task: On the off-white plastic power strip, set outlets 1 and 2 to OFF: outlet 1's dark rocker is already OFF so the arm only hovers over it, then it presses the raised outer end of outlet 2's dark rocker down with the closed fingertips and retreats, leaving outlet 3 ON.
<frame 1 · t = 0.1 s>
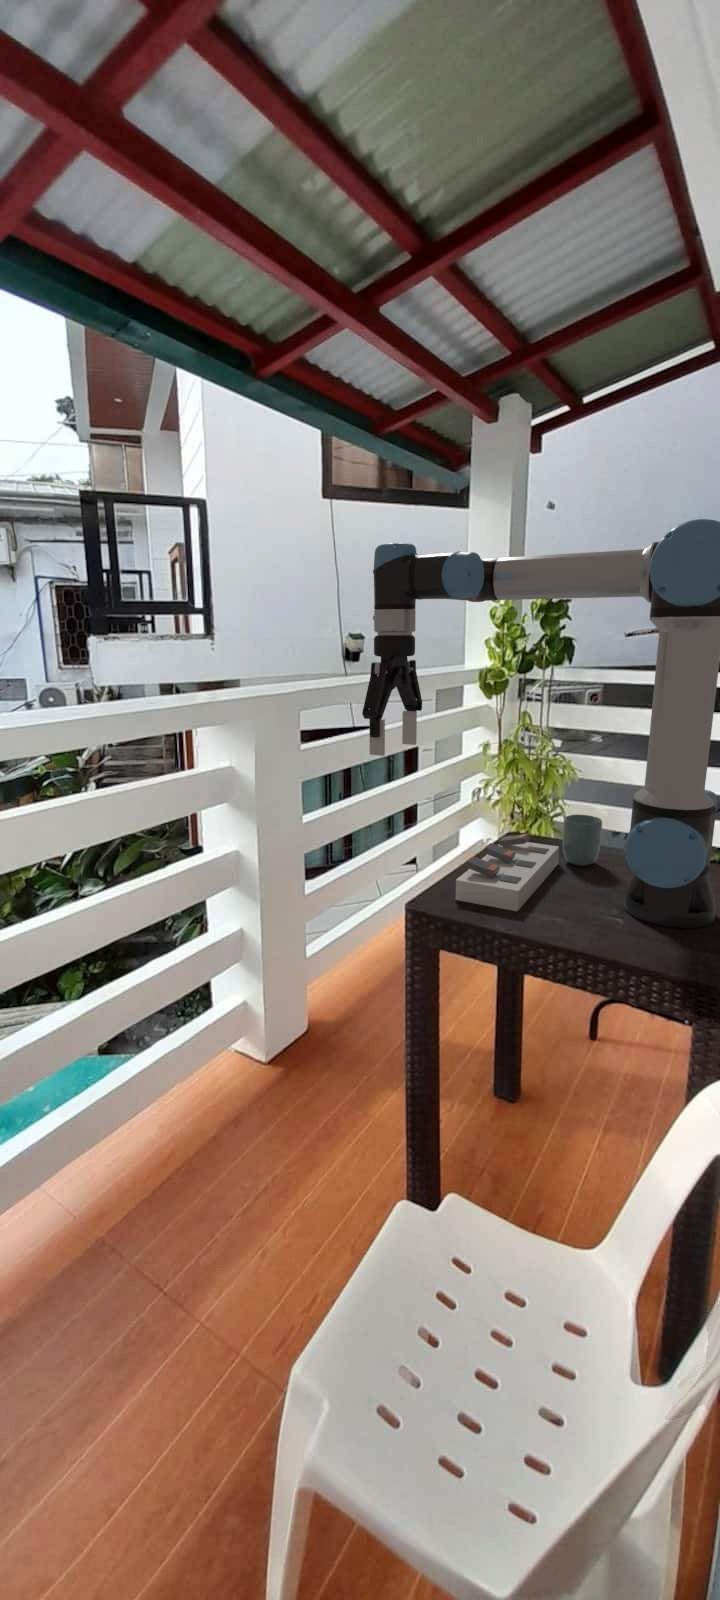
hand: (393, 749, 132), 28 cm above the table, fingers open, 13 cm apart
rocker 1: (514, 839, 151), point 6 cm above the table, hinge at 14.0°
rocker 3: (483, 866, 134), point 6 cm above the table, hinge at -14.0°
rocker 2: (499, 852, 143), point 6 cm above the table, hinge at -14.0°
power strip: (510, 880, 143), on the table
cup: (579, 863, 153), on the table
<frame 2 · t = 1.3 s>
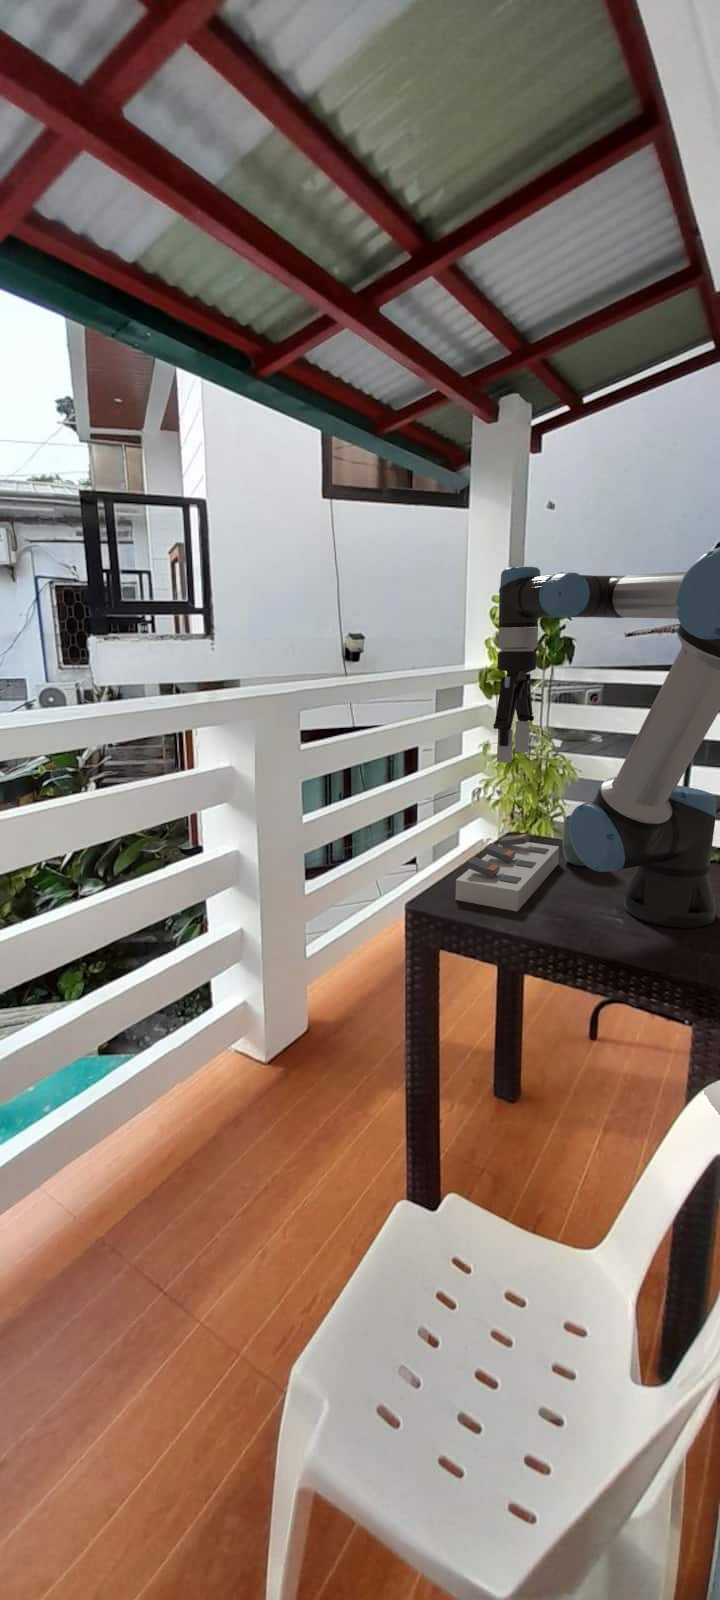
hand: (513, 757, 142), 25 cm above the table, fingers open, 13 cm apart
nothing on the table moved.
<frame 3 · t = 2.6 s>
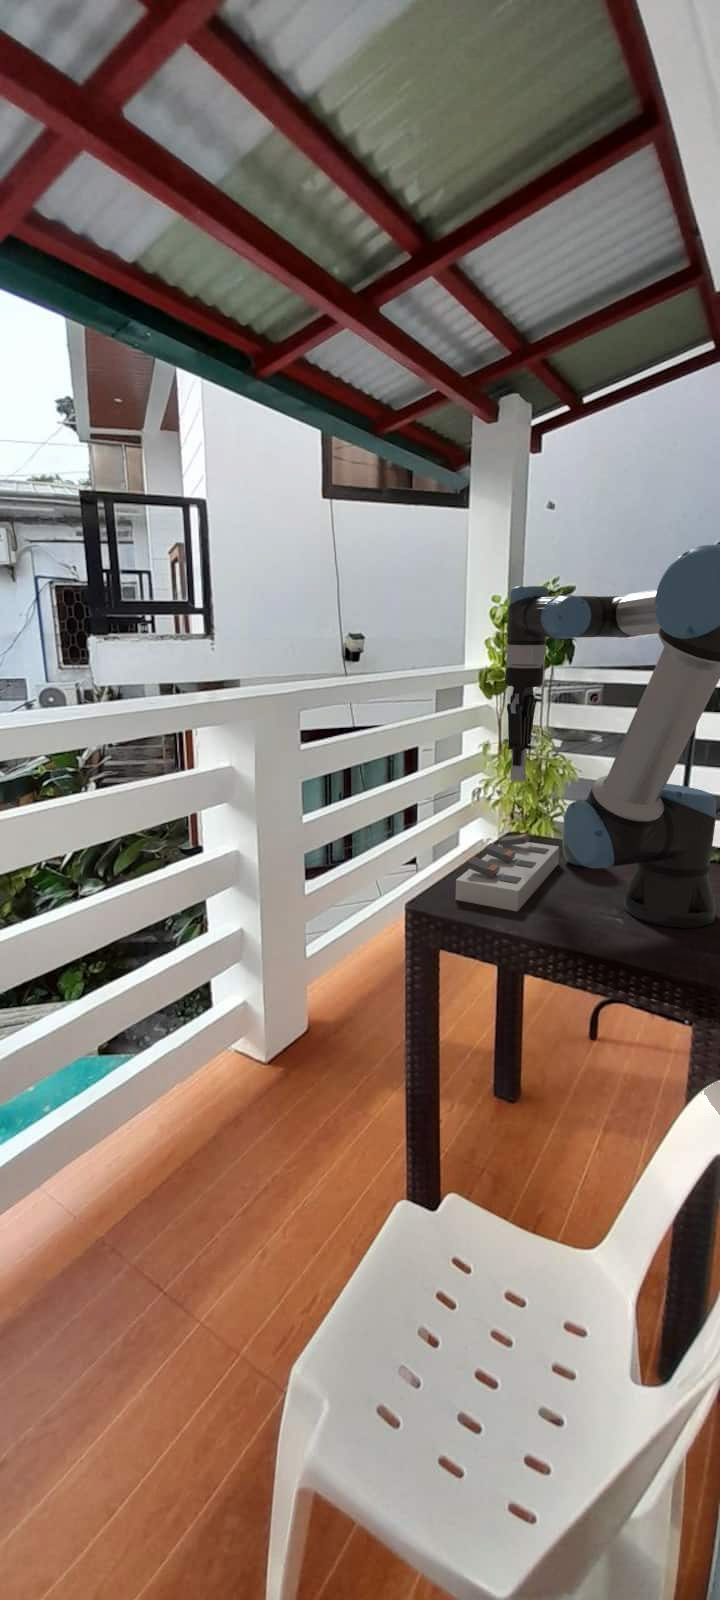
hand: (517, 779, 147), 19 cm above the table, fingers closed
nothing on the table moved.
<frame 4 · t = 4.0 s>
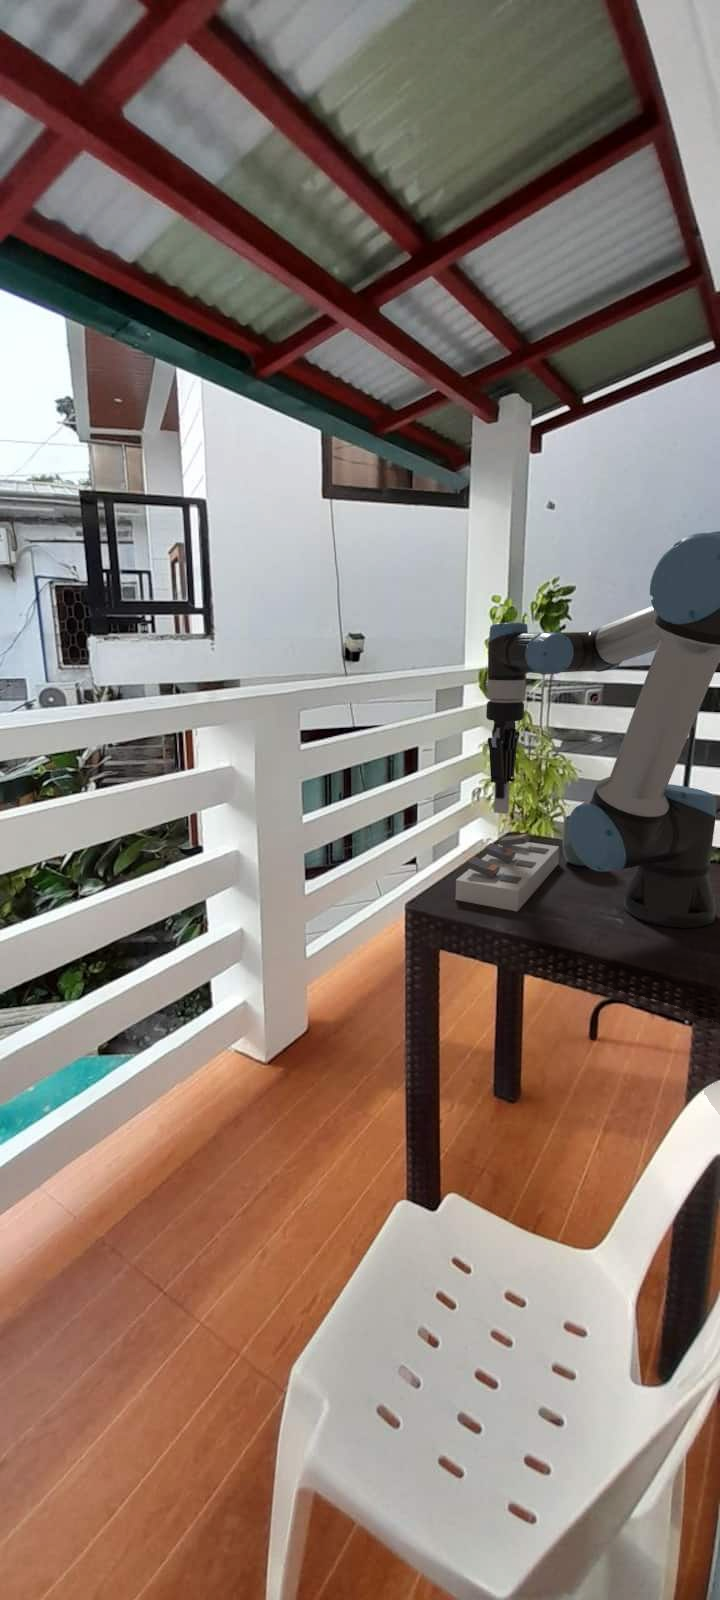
hand: (501, 812, 148), 12 cm above the table, fingers closed
nothing on the table moved.
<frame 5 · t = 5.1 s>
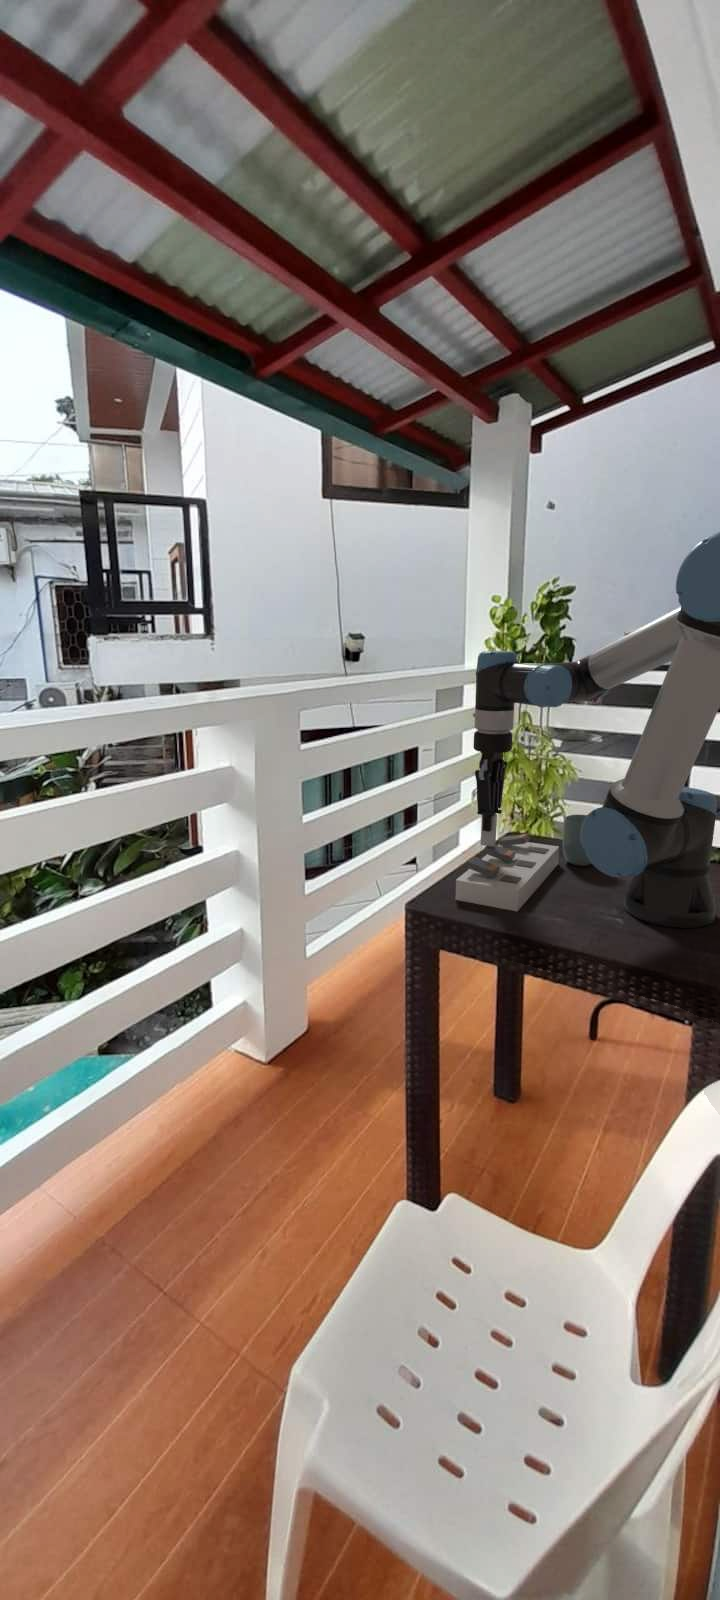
hand: (487, 844, 144), 7 cm above the table, fingers closed
rocker 2: (499, 852, 143), point 6 cm above the table, hinge at -13.9°, touching gripper
everything else where it was.
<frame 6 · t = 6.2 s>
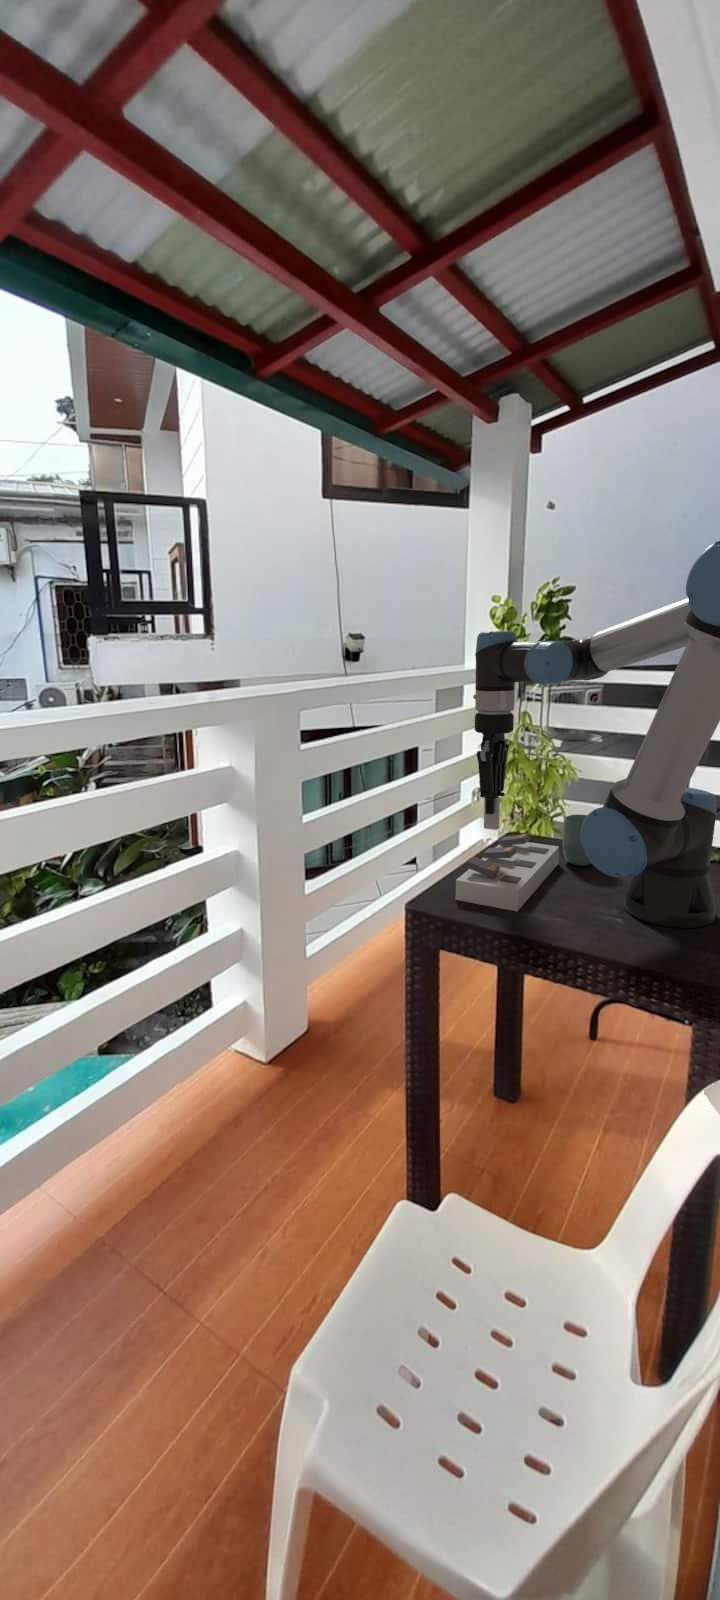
hand: (491, 828, 142), 11 cm above the table, fingers closed
rocker 2: (499, 852, 143), point 6 cm above the table, hinge at 9.7°
everything else where it was.
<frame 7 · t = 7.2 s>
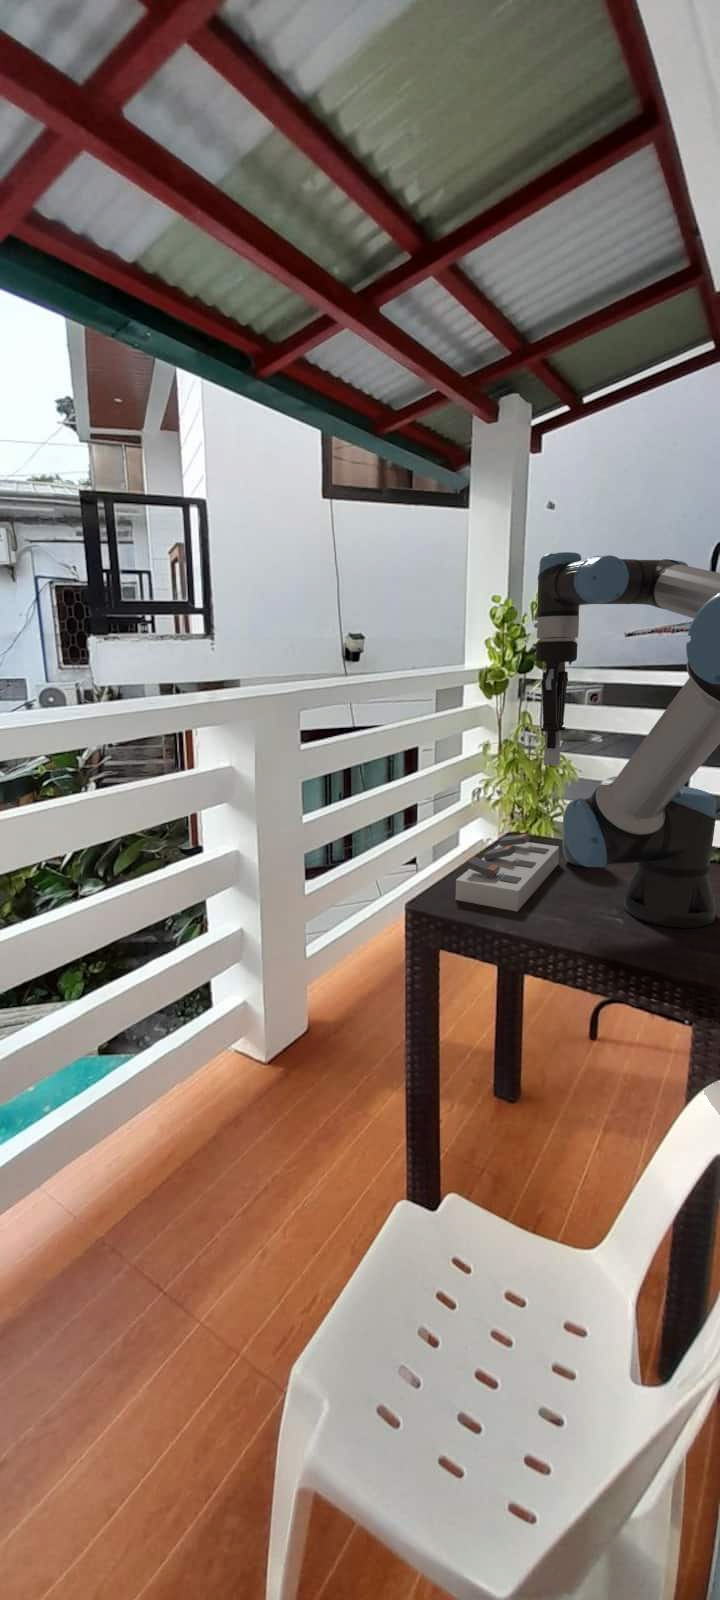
hand: (551, 764, 136), 24 cm above the table, fingers closed
rocker 2: (499, 852, 143), point 6 cm above the table, hinge at 19.3°
everything else where it was.
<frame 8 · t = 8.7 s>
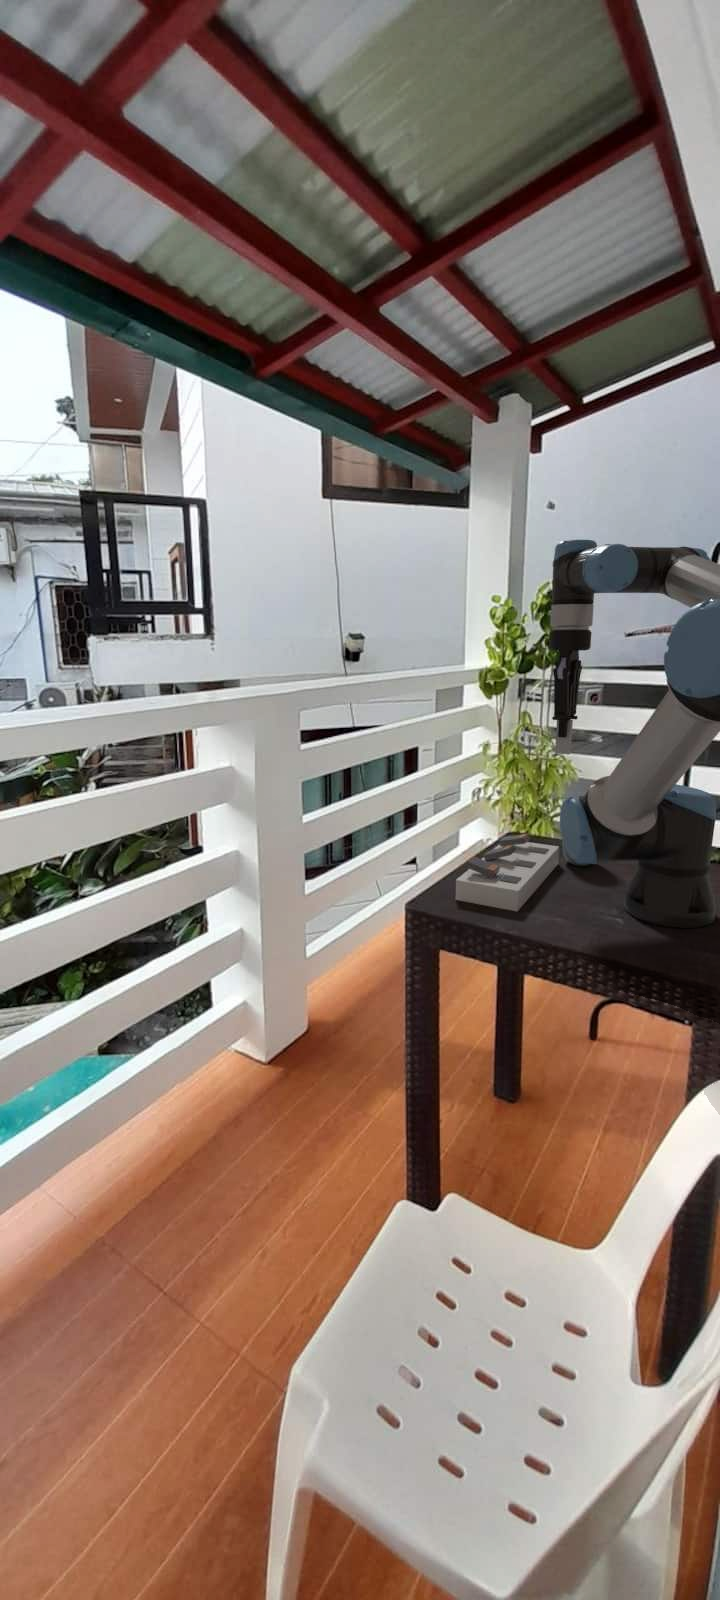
hand: (562, 753, 136), 26 cm above the table, fingers closed
rocker 2: (499, 852, 143), point 6 cm above the table, hinge at 21.3°
everything else where it was.
at the end: rocker 2 at +21° (first picture: -14°); rocker 1 at +14° (first picture: +14°); rocker 3 at -14° (first picture: -14°) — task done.
